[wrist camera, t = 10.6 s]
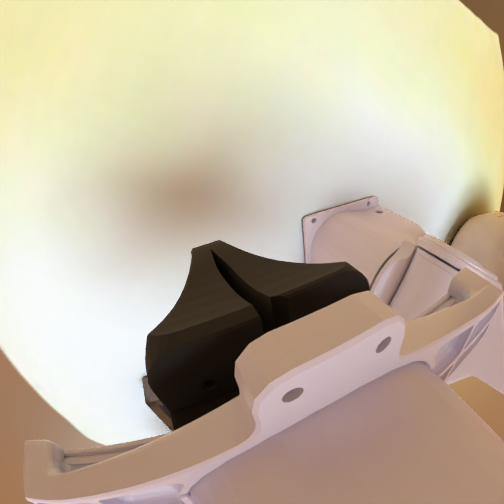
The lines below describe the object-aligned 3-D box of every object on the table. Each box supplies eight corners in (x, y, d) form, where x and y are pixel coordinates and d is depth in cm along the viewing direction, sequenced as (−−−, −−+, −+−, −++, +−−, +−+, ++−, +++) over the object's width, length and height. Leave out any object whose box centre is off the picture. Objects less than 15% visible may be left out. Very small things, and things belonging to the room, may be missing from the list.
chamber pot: (431, 207, 32) (550, 272, 15) (491, 179, 39) (567, 215, 21) (404, 340, 46) (472, 404, 29) (469, 285, 53) (525, 326, 35)
